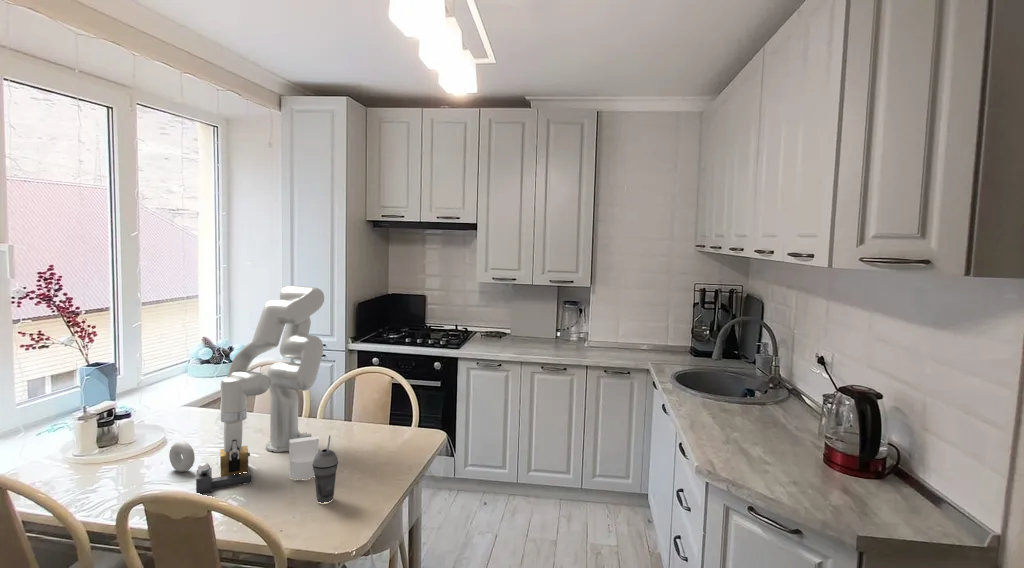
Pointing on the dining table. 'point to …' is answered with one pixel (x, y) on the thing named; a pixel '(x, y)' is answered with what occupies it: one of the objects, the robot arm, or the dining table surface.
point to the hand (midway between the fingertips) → (233, 465)
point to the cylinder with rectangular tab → (302, 457)
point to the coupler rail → (217, 479)
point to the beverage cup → (325, 473)
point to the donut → (186, 453)
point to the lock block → (226, 457)
